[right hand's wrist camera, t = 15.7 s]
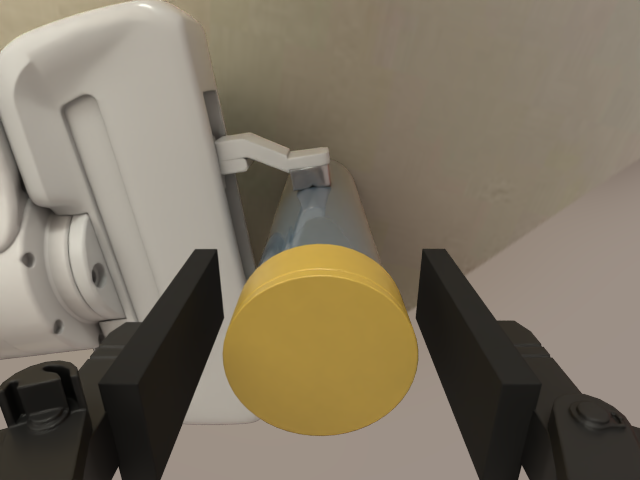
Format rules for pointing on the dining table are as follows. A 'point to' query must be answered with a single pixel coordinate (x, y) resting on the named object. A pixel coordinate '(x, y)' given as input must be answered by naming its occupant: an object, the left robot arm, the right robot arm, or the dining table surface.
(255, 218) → the dining table surface
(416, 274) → the dining table surface
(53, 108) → the left robot arm
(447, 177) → the dining table surface
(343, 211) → the blue tall cylinder
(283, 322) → the lid
